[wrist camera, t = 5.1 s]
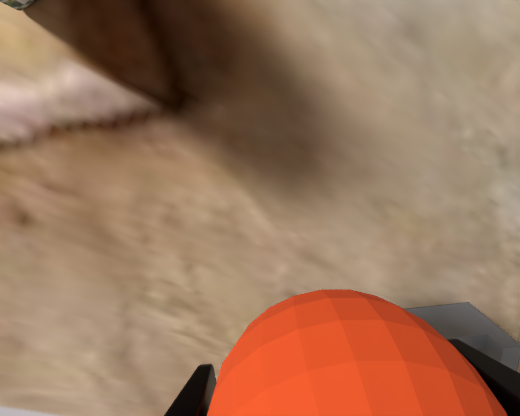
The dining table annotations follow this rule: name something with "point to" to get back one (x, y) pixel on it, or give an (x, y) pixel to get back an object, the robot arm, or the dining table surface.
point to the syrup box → (17, 3)
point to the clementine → (347, 363)
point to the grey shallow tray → (471, 330)
